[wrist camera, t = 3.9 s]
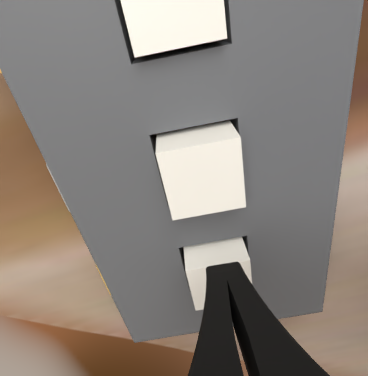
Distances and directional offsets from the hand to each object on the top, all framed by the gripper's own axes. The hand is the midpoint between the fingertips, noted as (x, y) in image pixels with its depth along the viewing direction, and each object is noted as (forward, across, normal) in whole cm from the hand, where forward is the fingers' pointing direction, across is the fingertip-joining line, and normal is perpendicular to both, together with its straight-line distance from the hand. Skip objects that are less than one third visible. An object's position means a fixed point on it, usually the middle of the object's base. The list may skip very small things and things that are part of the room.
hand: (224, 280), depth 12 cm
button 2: (+7, 0, +6) cm, 9 cm away
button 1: (+8, 0, -10) cm, 13 cm away
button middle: (+7, 0, -2) cm, 7 cm away
